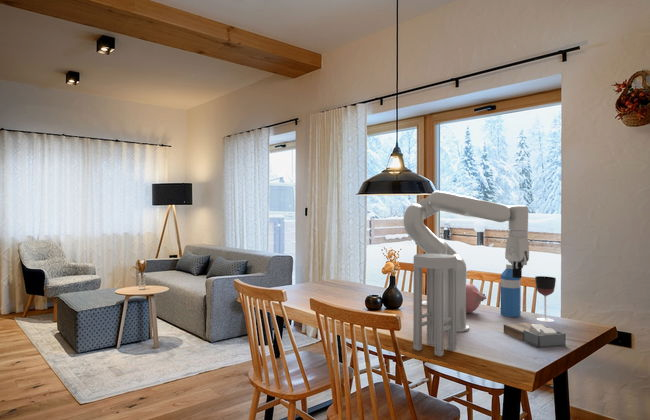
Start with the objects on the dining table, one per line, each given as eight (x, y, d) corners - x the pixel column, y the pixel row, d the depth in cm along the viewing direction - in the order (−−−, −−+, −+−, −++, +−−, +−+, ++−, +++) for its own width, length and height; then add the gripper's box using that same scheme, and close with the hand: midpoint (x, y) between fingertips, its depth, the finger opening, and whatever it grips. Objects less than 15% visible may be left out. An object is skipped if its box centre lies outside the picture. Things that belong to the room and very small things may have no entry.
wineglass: (554, 322, 201) (555, 279, 200) (534, 320, 205) (534, 277, 205) (556, 319, 207) (556, 277, 207) (536, 316, 212) (536, 275, 212)
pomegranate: (475, 319, 205) (475, 287, 205) (442, 311, 222) (442, 281, 222) (495, 315, 214) (495, 284, 214) (462, 307, 231) (462, 278, 231)
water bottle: (522, 317, 210) (523, 265, 210) (502, 316, 212) (502, 265, 212) (518, 313, 219) (518, 263, 219) (498, 312, 221) (498, 263, 221)
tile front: (537, 339, 169) (542, 344, 167) (540, 328, 168) (545, 333, 165) (548, 338, 171) (553, 343, 168) (551, 327, 169) (556, 332, 166)
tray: (538, 347, 164) (538, 335, 164) (523, 341, 172) (523, 329, 172) (565, 345, 167) (565, 333, 167) (549, 339, 175) (549, 328, 175)
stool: (405, 349, 162) (405, 255, 162) (428, 340, 173) (428, 252, 173) (442, 359, 151) (442, 258, 151) (464, 349, 162) (464, 255, 162)
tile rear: (537, 338, 169) (539, 331, 168) (529, 331, 174) (530, 324, 173) (548, 337, 170) (550, 331, 169) (539, 330, 175) (541, 323, 174)
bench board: (522, 340, 173) (522, 332, 173) (503, 332, 184) (503, 324, 184) (548, 338, 176) (548, 330, 176) (527, 330, 187) (528, 322, 187)
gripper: (499, 233, 191) (498, 275, 191) (521, 235, 176) (520, 280, 176) (514, 233, 192) (513, 274, 192) (538, 235, 178) (536, 280, 178)
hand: (516, 277), depth 184 cm, fingers closed
